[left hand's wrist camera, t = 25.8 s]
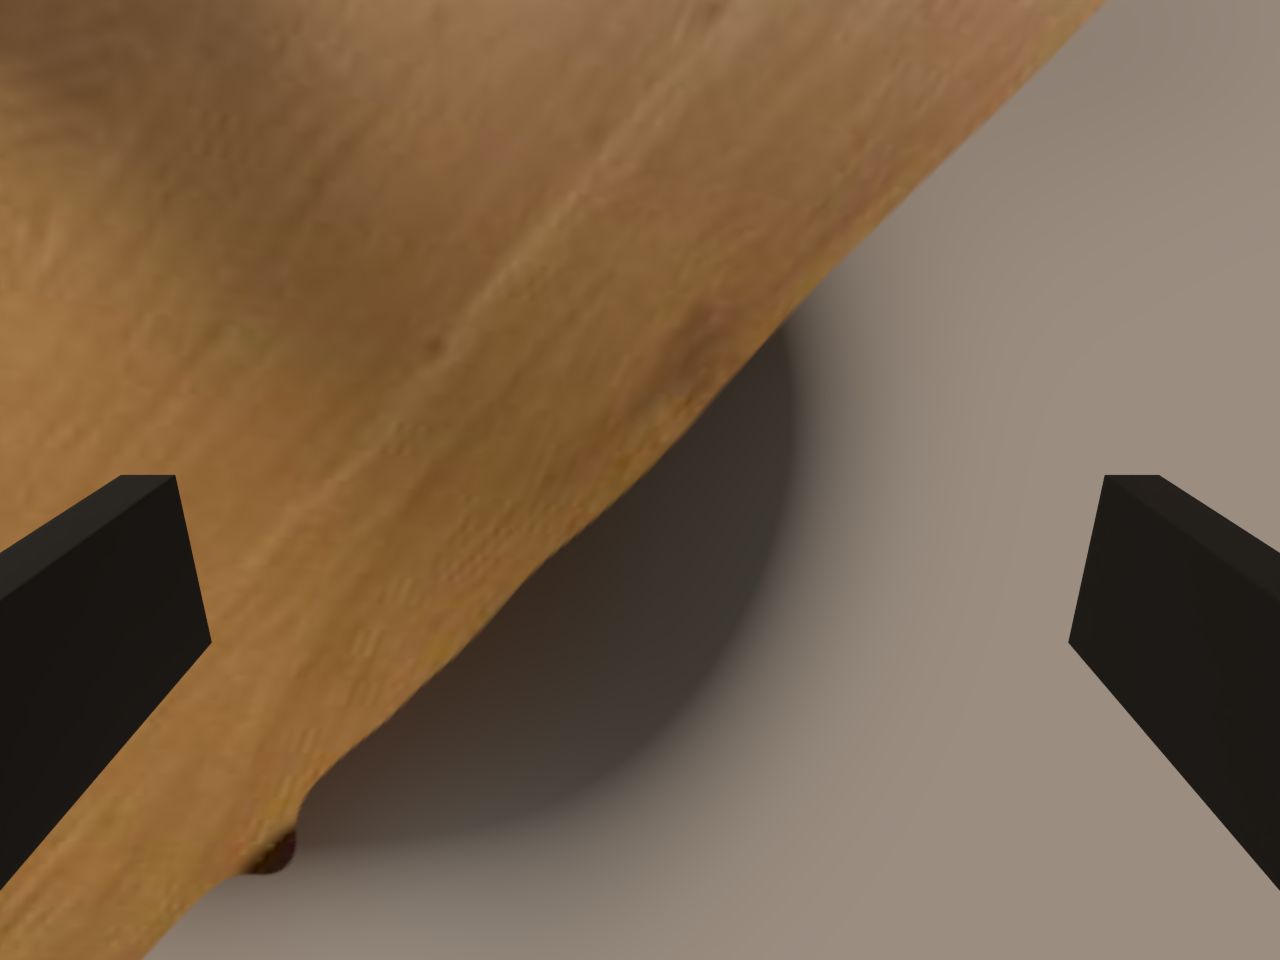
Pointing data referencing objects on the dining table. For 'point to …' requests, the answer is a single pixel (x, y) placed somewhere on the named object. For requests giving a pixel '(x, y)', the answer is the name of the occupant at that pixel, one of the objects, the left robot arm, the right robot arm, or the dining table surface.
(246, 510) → the dining table surface
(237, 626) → the dining table surface
